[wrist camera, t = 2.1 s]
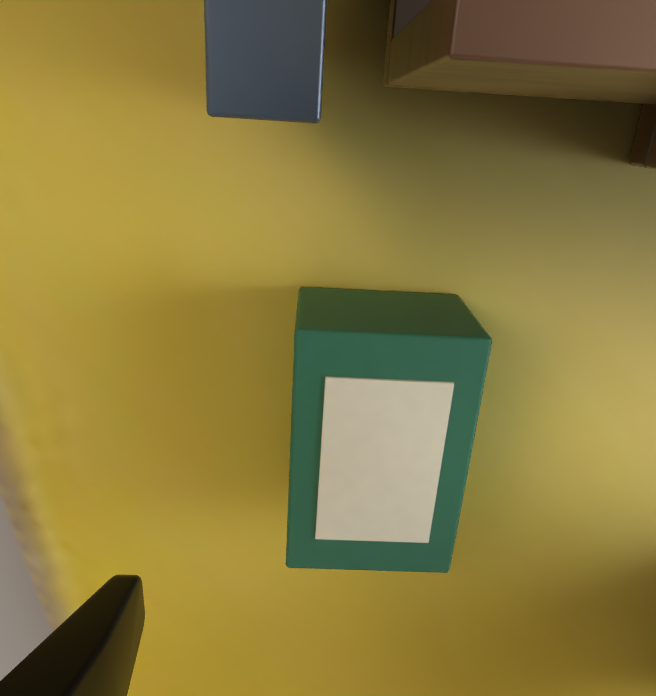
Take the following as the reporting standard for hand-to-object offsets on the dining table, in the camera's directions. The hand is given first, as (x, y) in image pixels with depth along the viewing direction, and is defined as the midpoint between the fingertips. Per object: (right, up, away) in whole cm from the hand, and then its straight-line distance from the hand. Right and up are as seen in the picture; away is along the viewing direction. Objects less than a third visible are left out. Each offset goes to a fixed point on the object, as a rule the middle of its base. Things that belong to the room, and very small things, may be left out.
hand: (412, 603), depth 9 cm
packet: (0, +3, +7) cm, 7 cm away
